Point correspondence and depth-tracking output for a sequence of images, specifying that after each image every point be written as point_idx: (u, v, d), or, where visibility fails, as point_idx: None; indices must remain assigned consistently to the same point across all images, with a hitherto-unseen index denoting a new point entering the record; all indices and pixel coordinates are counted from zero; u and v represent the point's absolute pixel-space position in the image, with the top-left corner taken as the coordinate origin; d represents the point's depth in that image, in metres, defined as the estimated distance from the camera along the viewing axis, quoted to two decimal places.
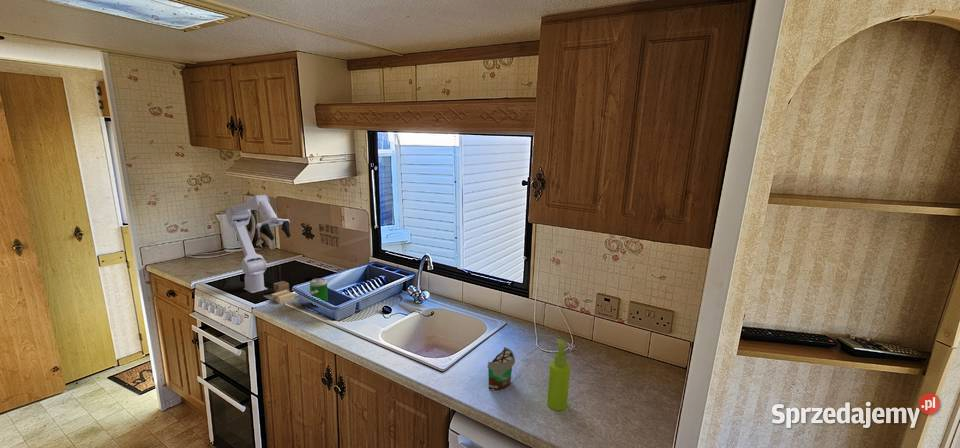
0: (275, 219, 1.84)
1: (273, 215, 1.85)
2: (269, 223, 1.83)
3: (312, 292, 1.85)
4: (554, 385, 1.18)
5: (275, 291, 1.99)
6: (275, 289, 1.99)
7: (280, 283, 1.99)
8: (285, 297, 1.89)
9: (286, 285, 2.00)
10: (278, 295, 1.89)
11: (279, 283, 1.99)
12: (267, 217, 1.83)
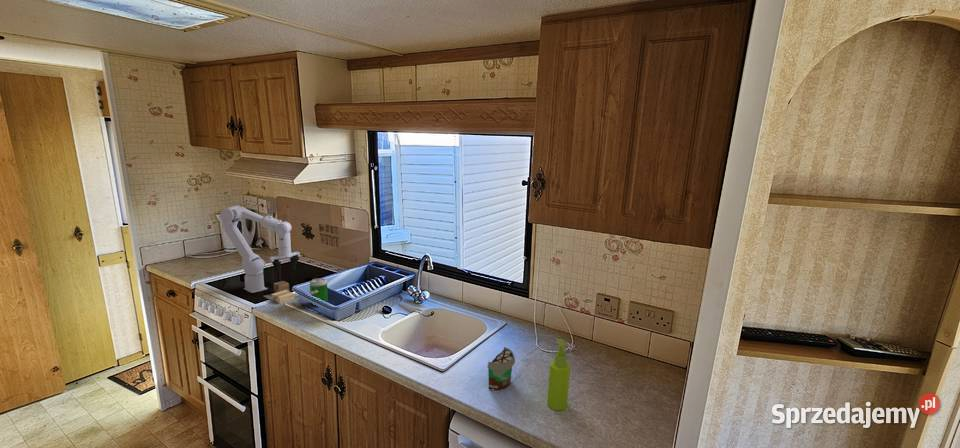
0: (288, 257, 2.00)
1: (288, 251, 2.00)
2: (282, 258, 1.99)
3: (312, 292, 1.85)
4: (554, 385, 1.18)
5: (275, 291, 1.99)
6: (275, 289, 1.99)
7: (280, 283, 1.99)
8: (285, 297, 1.89)
9: (286, 285, 2.00)
10: (278, 295, 1.89)
11: (279, 283, 1.99)
12: (283, 252, 1.99)
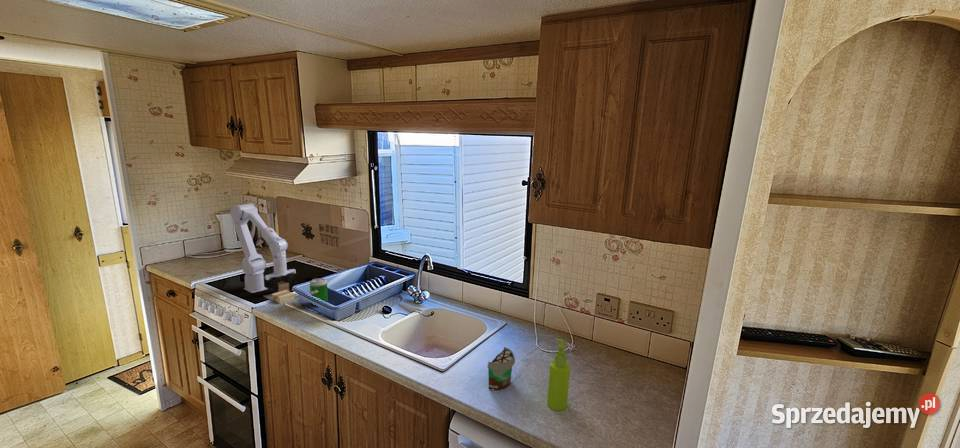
0: None
1: (284, 269, 1.97)
2: (277, 276, 1.97)
3: (312, 292, 1.85)
4: (554, 385, 1.18)
5: None
6: None
7: (280, 283, 1.99)
8: (285, 297, 1.89)
9: (286, 285, 2.00)
10: (278, 295, 1.89)
11: (279, 283, 1.99)
12: (278, 270, 1.96)
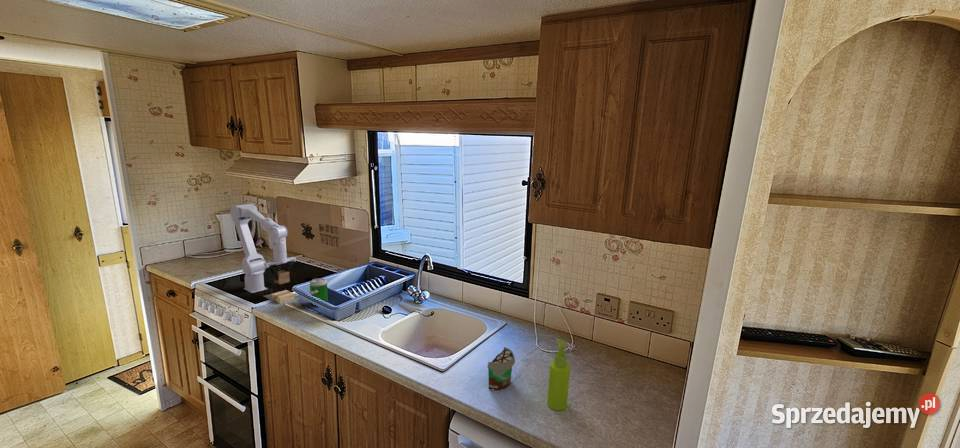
0: (284, 262, 1.92)
1: (284, 257, 1.92)
2: (277, 263, 1.91)
3: (312, 292, 1.85)
4: (554, 385, 1.18)
5: (275, 280, 1.94)
6: None
7: (280, 272, 1.94)
8: (285, 297, 1.89)
9: (287, 274, 1.95)
10: (278, 295, 1.89)
11: (279, 272, 1.94)
12: (278, 258, 1.90)
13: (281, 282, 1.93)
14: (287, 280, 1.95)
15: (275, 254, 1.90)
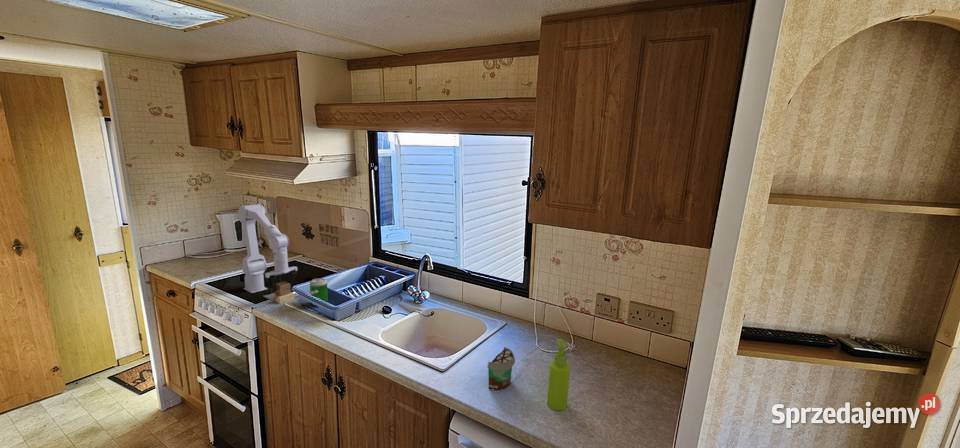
0: None
1: (285, 267, 1.88)
2: (278, 273, 1.87)
3: (312, 292, 1.85)
4: (554, 385, 1.18)
5: (276, 292, 1.90)
6: None
7: (281, 284, 1.90)
8: (285, 297, 1.89)
9: (288, 286, 1.91)
10: (278, 295, 1.89)
11: (280, 284, 1.90)
12: (279, 268, 1.86)
13: (282, 294, 1.89)
14: (288, 292, 1.91)
15: (276, 264, 1.86)
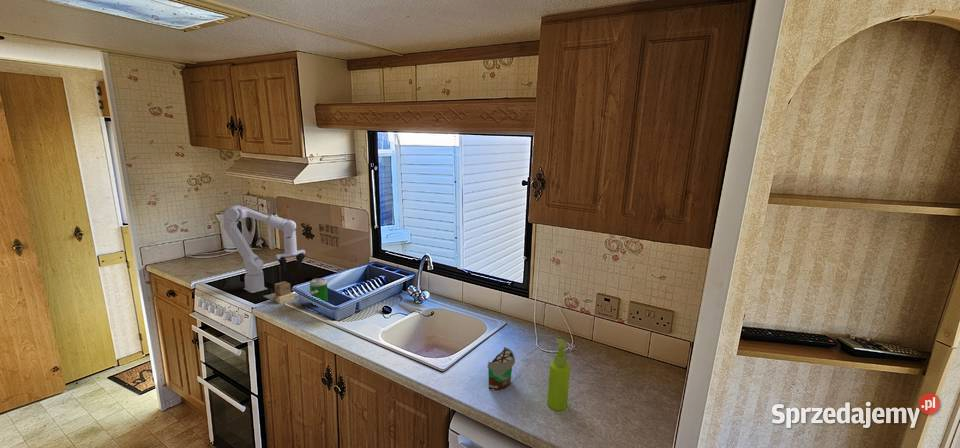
0: (294, 255, 2.04)
1: (294, 249, 2.04)
2: (287, 255, 2.03)
3: (312, 292, 1.85)
4: (554, 385, 1.18)
5: (276, 292, 1.90)
6: (276, 290, 1.90)
7: (281, 284, 1.90)
8: (285, 297, 1.89)
9: (288, 286, 1.91)
10: (278, 295, 1.89)
11: (280, 284, 1.90)
12: (288, 250, 2.03)
13: (282, 294, 1.89)
14: (288, 292, 1.91)
15: (286, 247, 2.02)
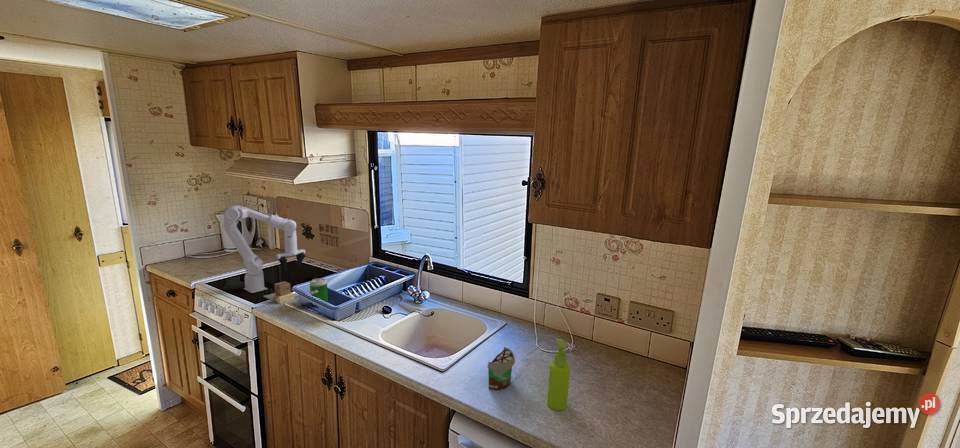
0: (294, 254, 2.05)
1: (294, 249, 2.05)
2: (288, 255, 2.04)
3: (312, 292, 1.85)
4: (554, 385, 1.18)
5: (276, 292, 1.90)
6: (276, 290, 1.90)
7: (281, 284, 1.90)
8: (285, 297, 1.89)
9: (288, 286, 1.91)
10: (278, 295, 1.89)
11: (280, 284, 1.90)
12: (289, 250, 2.03)
13: (282, 294, 1.89)
14: (288, 292, 1.91)
15: (286, 246, 2.03)
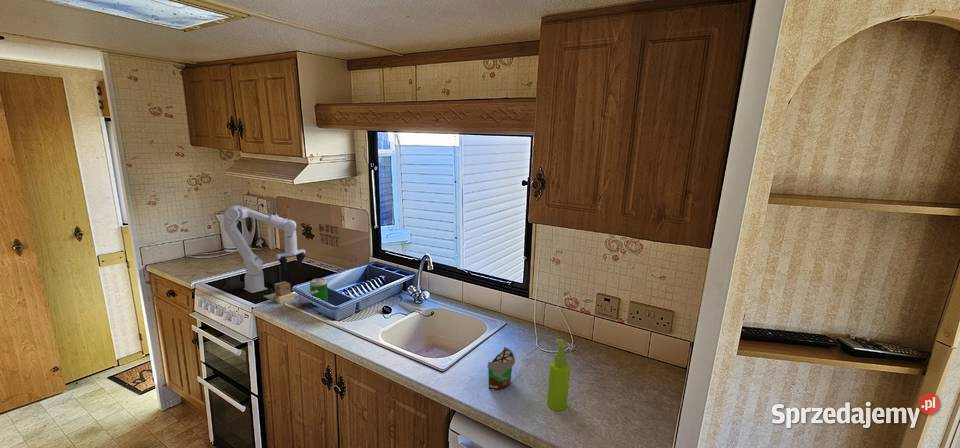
0: (294, 254, 2.05)
1: (294, 249, 2.05)
2: (288, 255, 2.04)
3: (312, 292, 1.85)
4: (554, 385, 1.18)
5: (276, 292, 1.90)
6: (276, 290, 1.90)
7: (281, 284, 1.90)
8: (285, 297, 1.89)
9: (288, 286, 1.91)
10: (278, 295, 1.89)
11: (280, 284, 1.90)
12: (289, 250, 2.03)
13: (282, 294, 1.89)
14: (288, 292, 1.91)
15: (286, 246, 2.03)
